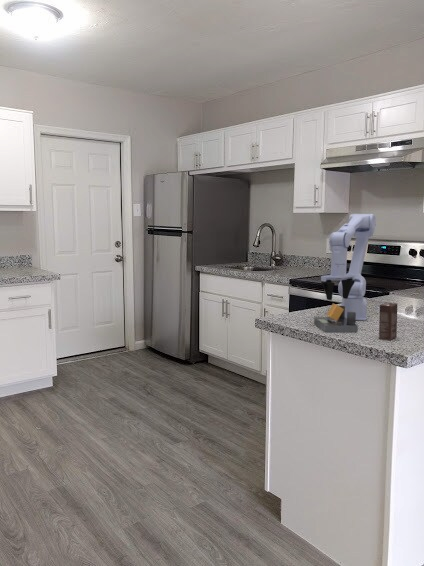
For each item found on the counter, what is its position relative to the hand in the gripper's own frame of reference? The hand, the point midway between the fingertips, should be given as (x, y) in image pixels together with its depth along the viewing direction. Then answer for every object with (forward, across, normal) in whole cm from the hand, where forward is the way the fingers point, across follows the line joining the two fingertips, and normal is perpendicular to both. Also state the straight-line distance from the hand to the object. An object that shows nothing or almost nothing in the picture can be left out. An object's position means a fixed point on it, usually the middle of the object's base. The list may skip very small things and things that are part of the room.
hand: (337, 299), depth 186 cm
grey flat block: (+10, +3, +3) cm, 11 cm away
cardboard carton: (+8, +5, +2) cm, 9 cm away
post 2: (+8, +1, +10) cm, 13 cm away
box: (+10, -4, +23) cm, 25 cm away
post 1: (+8, -3, -1) cm, 8 cm away
